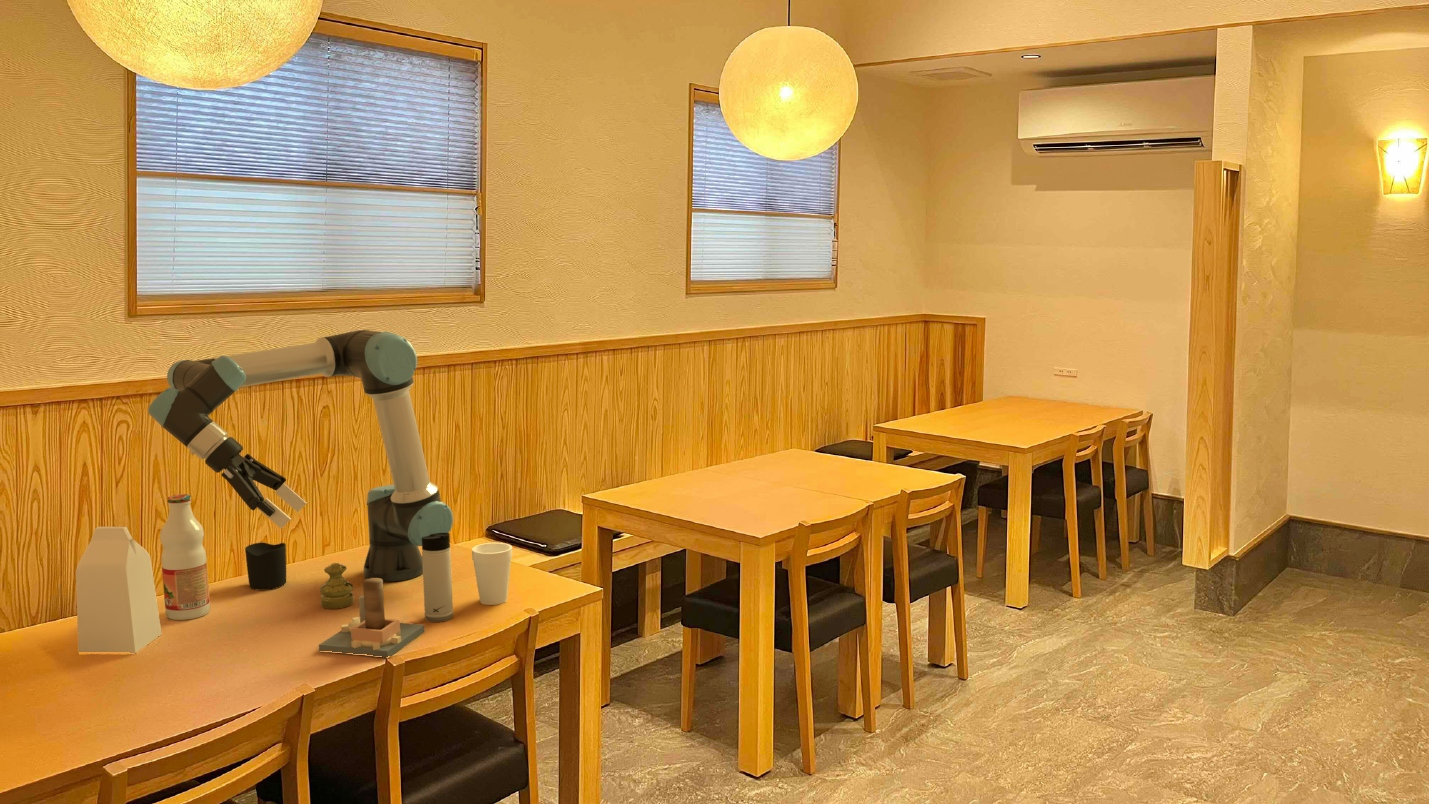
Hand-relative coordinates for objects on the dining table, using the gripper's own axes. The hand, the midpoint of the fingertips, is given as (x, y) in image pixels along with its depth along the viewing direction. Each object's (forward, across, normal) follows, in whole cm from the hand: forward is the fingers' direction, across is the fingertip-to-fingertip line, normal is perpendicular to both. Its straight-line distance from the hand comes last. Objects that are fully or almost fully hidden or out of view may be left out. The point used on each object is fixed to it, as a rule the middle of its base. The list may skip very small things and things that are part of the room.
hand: (294, 515), depth 243 cm
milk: (-7, -1, -47) cm, 47 cm away
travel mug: (+40, -10, 0) cm, 41 cm away
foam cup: (+48, -21, +8) cm, 53 cm away
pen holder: (+7, -40, -32) cm, 52 cm away
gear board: (+31, +3, -8) cm, 32 cm away
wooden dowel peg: (+29, +7, -6) cm, 31 cm away
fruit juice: (-2, -20, -41) cm, 46 cm away
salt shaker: (+22, -23, -18) cm, 36 cm away
